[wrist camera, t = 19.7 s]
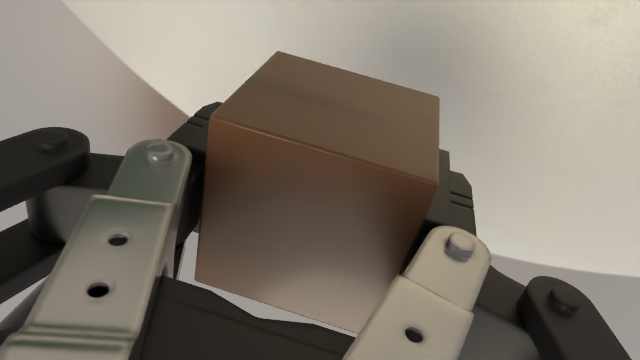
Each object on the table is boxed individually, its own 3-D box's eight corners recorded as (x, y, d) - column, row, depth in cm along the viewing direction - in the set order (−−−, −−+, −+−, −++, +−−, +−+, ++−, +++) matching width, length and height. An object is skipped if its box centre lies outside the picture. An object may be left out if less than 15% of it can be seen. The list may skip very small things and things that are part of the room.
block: (391, 227, 15) (373, 340, 11) (254, 185, 15) (192, 281, 11) (440, 96, 12) (440, 183, 9) (277, 49, 13) (208, 114, 9)
